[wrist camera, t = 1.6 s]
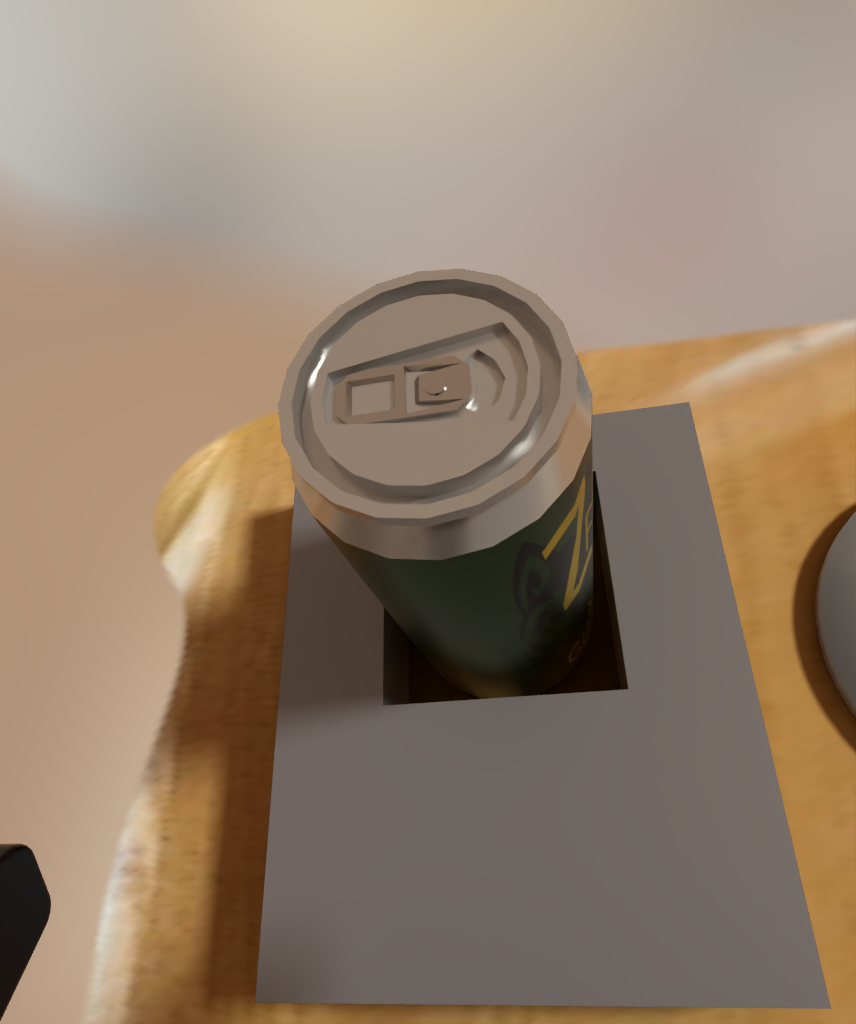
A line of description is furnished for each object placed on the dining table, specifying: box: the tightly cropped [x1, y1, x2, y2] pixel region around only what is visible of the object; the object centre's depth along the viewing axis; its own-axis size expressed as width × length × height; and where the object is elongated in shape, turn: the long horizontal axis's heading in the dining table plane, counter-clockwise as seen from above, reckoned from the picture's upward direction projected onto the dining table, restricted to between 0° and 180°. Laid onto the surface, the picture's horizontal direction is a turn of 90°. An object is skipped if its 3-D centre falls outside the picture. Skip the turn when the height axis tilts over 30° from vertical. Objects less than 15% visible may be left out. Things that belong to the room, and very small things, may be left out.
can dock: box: [255, 402, 831, 1009], centre depth 19 cm, size 14×12×3 cm
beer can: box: [278, 269, 593, 699], centre depth 17 cm, size 5×5×12 cm
